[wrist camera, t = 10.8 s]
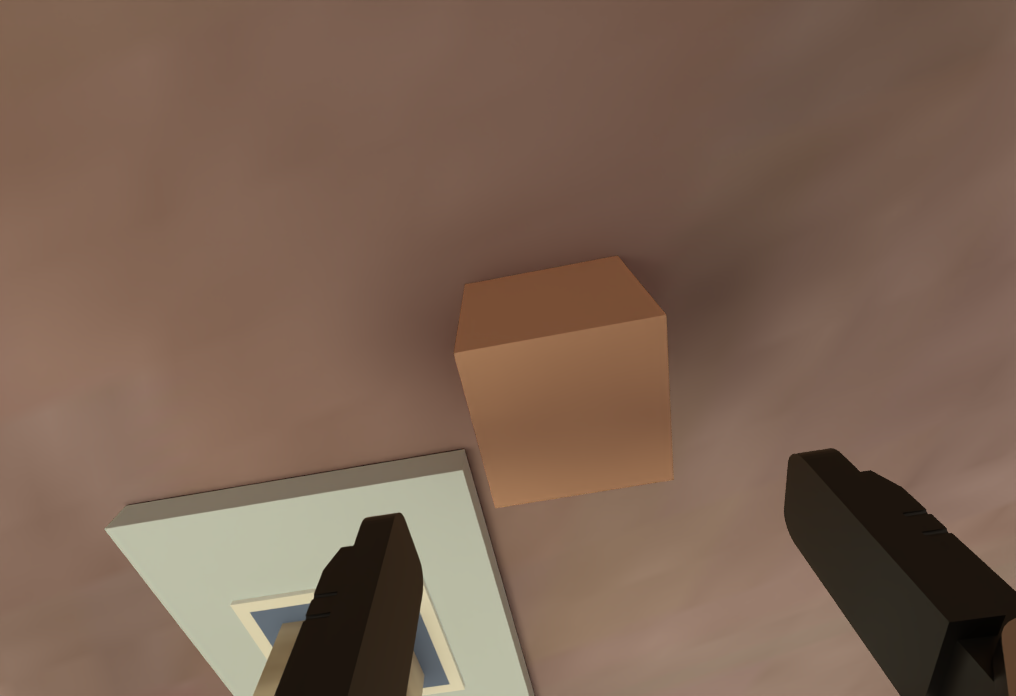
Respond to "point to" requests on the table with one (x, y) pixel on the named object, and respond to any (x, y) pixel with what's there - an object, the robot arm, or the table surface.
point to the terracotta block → (566, 381)
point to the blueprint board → (306, 552)
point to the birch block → (283, 650)
